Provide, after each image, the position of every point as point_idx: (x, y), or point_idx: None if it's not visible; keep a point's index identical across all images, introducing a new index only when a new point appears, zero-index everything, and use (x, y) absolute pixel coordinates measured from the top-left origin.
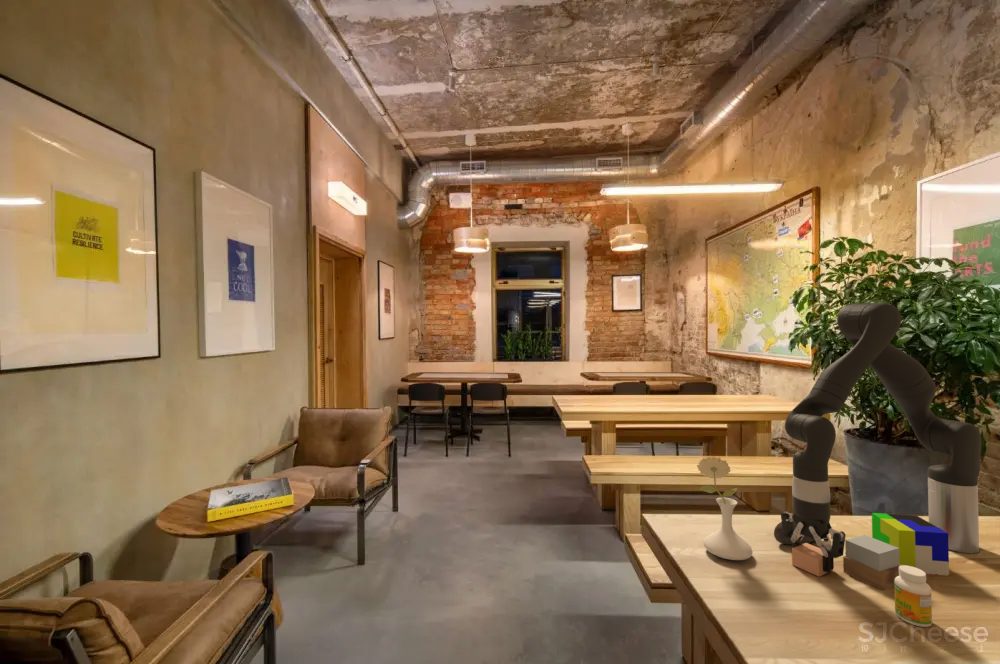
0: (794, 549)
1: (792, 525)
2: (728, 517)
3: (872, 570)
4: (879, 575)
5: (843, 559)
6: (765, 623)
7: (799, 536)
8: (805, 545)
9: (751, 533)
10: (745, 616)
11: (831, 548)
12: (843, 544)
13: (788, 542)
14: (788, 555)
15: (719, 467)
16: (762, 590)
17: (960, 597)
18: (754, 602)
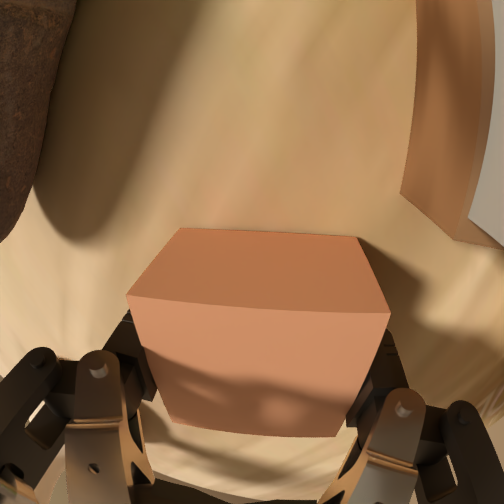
0: (187, 424)
1: (14, 428)
2: (49, 498)
3: None
4: None
5: (441, 226)
6: (314, 492)
7: (145, 461)
8: (165, 347)
9: None
10: (287, 495)
11: (411, 446)
12: (498, 488)
13: (33, 169)
14: (117, 268)
15: None
16: (257, 468)
17: None
18: (273, 484)
